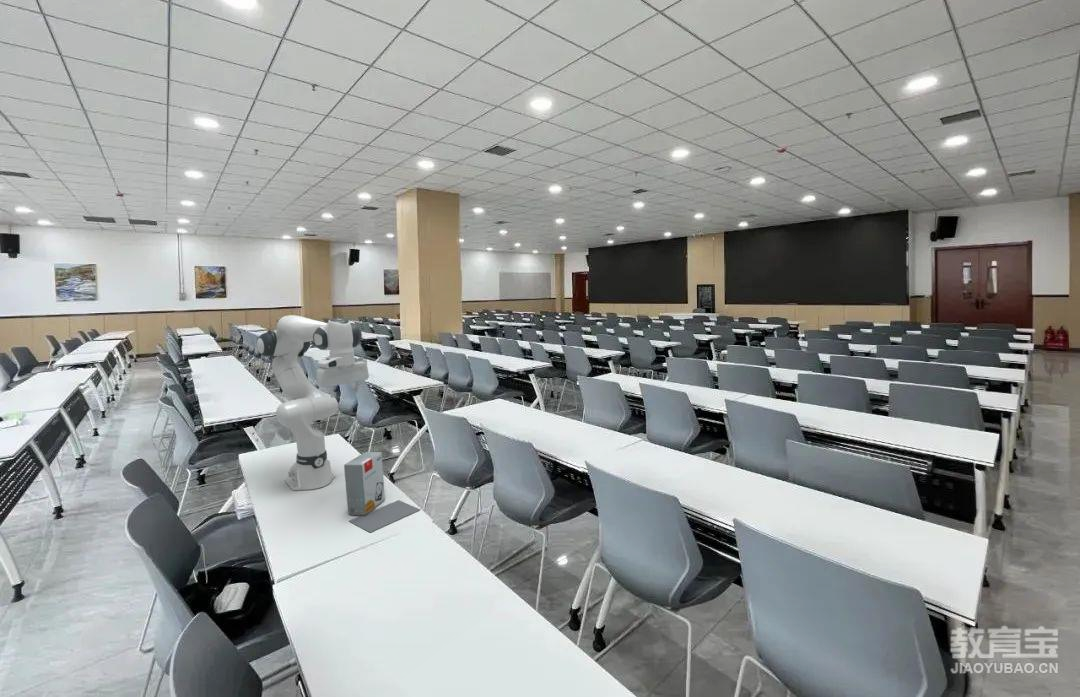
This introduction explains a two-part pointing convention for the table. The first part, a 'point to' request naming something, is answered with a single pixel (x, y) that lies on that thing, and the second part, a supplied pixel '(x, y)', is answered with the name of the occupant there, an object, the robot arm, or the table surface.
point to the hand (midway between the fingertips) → (344, 394)
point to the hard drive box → (364, 483)
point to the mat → (384, 516)
